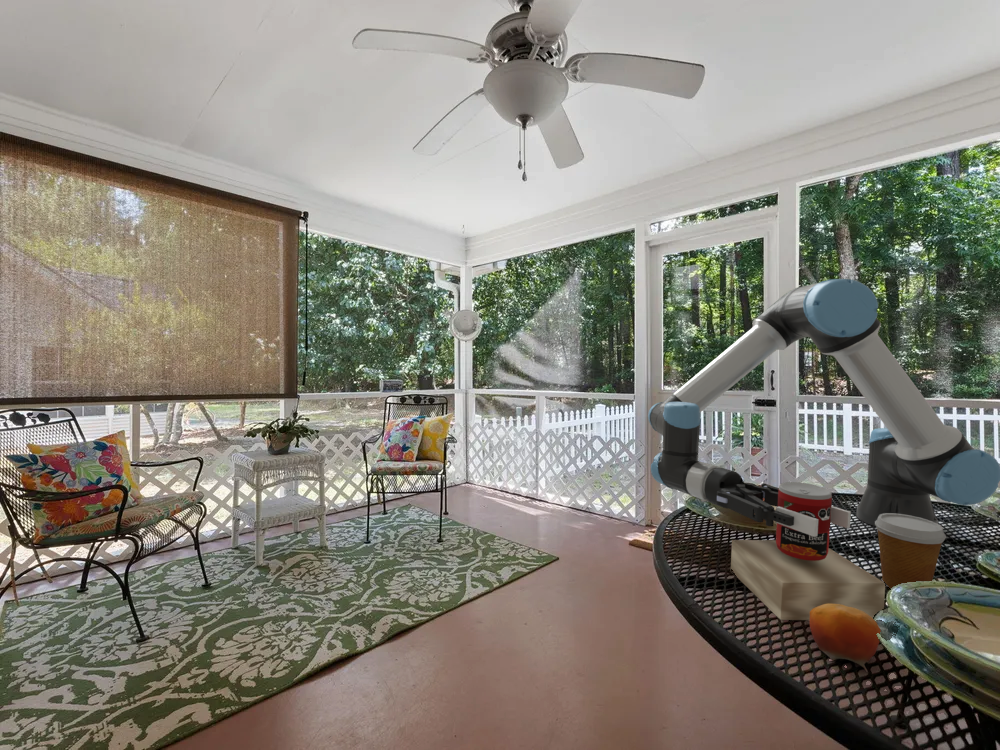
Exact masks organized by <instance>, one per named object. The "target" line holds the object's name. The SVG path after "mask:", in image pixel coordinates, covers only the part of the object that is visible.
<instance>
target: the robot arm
mask: <svg viewBox="0 0 1000 750" xmlns="http://www.w3.org/2000/svg"><path fill="white" fill-rule="evenodd" d="M878 308H879V301H878V300H877V297H876V294H874V292H873V291H872V290H871V289H870V288H869V286H867V285H866V284H864V283H862V282H860V281H858V280H855V279H849V278H833V279H832V278H831V279H825V280H823V281H820V282H816V283H811V284H808V285H801V286H798V287H795V288H793V289H791V290H789V291H787V292H786V293H785V294H783V295H782V296H781V297H780V298H778V299H777V300H776V301H775V302H774V303H772V304H771V305H770V306H769V307H768V308H767V309H765V310H764V312H763V313H760V315H759V316H758V317H756V318H754V320H753V321H752V327H751V328H750V329H748V330H747V332H745V333H744V334H743V335H741V336H740V337H739V338H738V339H737V340H736V341H734V342H733V343H732V344H730V345H729V346H728V347H727V348H726V349H725V350H724V351H723V352H721V353H720V354H719V355H717V357H715V358H714V359H713V360H712V361H711V362H709V363H708V364H707V365H706V366H704V367H703V368H702V369H701V370H699V372H697V373H696V374H695V375H694V376H693V377H692V378H691V379H689V380H688V381H687V382H685V383H684V384H683V385H682V386H681V387H680V388H678V389H677V390H676V391H675V392H674V393H673V394H671V395H670V396H668V397H667V398H666V399H665V400H664V401H660V402H656V403H655V404H653V405H652V406H651V407H650V409H649V410H648V412H647V413H648V414H647V419H648V422H649V424H650V426H651V428H652V429H653V430H654V431H655V432H657V433H658V434H660V435H661V436H662V451H660V452H658V453H657V454H656V455H655V456H654V457H653V462H652V463H651V464H650V472H651V477H652V478H653V479H654V480H655V481H656V482H657V483H658V484H661V485H663V486H665V487H666V488H668V489H671V490H674V491H678V492H681V493H683V494H686V495H689V496H691V497H695V498H697V499H699V500H700V501H701V502H703V503H705V502H708V503H710V504H712V505H715V506H718V507H721V508H724V509H729V510H731V511H733V512H735V513H738V514H740V515H741V516H744V517H745V518H748V519H751V520H752V521H754V522H757V523H763V522H764V520H765V526H766V527H774V522H775V524H777V523H778V524H781V525H783V526H786V527H789V528H792V529H794V530H797V531H800V532H802V533H805V534H808V535H811V536H813V537H816V536H817V535H818V519H816V518H813V517H810V516H807V515H804V514H801V513H798V512H795V511H792V510H788V509H785V508H782V507H778V491H779V487H777V486H773V485H770V484H767V483H766V482H765V483H761V485H756V484H755V483H751V482H745V481H744V480H743V477H742V476H741V475H740V473H738V472H737V471H734V470H731V469H728V468H724V467H720V466H718V465H715V464H710V463H706V462H704V461H703V462H702V461H700V460H699V449H700V448H699V445H700V428H701V420H702V419H701V412H702V411H704V410H706V409H707V408H708V407H709V406H711V404H712V403H713V402H715V401H716V400H717V399H719V398H720V397H721V396H722V395H724V394H725V393H726V392H727V391H729V390H730V389H731V388H732V387H733V386H735V385H736V384H737V383H739V381H741V380H743V378H744V377H745V376H746V375H748V374H749V373H750V372H752V371H753V370H754V369H756V368H757V367H758V366H759V365H760V364H761V363H762V362H764V361H765V360H766V359H768V358H769V357H770V356H771V355H772V354H774V353H775V352H776V351H783V350H784V351H785V349H787V348H788V347H789V346H790V345H791V344H793V343H795V342H797V341H800V340H801V339H803V338H810V340H811V341H812V342H813V344H814V345H815V346H816V348H817V349H818V350H819V352H820V353H821V354H823V355H827V356H832V357H834V359H836V361H837V362H838V364H839V365H840V366H841V368H842V370H843V371H844V372H845V373H846V375H847V376H848V377H849V378H850V380H851V381H852V383H853V384H854V385H855V387H856V388H857V389H858V391H859V392H860V394H861V395H862V396H863V398H864V399H865V400H866V402H867V403H868V404H869V406H870V407H871V408H872V410H873V411H874V412H875V414H876V416H878V418H879V419H880V421H881V422H882V423H883V425H884V426H885V427H878V428H875V429H873V430H872V431H871V432H870V437H869V441H868V445H869V447H868V465H867V466H868V467H867V469H868V470H867V483H866V487H865V488H866V489H865V491H864V492H863V495H862V497H861V499H860V501H859V503H858V505H857V507H856V518H857V519H859V520H860V521H861V522H864V523H865V524H868V525H870V526H874V527H876V525H875V521H876V520H877V519H878V516H879V515H880V514H885V513H895V514H904V515H910V516H915V517H919V518H923V519H926V520H929V521H932V522H935V523H937V524H939V520H938V518H937V516H936V513H935V509H934V505H933V503H932V500H931V496H934V497H936V498H938V499H940V500H942V501H943V502H948V503H953V504H956V505H961V506H973V505H976V504H980V503H982V502H985V501H986V500H988V499H989V498H990V497H991V496H993V494H994V493H995V492H996V490H998V488H999V483H1000V463H999V462H998V460H997V459H996V458H995V457H994V456H993V455H991V454H990V453H987V452H986V451H985V450H982V449H978V448H977V449H975V448H974V447H973V446H972V445H971V444H970V443H969V441H968V439H967V438H966V436H965V435H963V432H961V431H960V430H959V428H957V427H955V426H952V425H945V424H944V423H943V421H942V420H941V418H940V417H939V416H938V414H937V413H936V412H935V410H934V409H933V407H932V406H931V405H930V403H929V402H928V401H927V399H926V398H925V397H924V395H923V394H922V392H921V391H920V390H919V389H918V388H917V386H916V385H915V383H914V382H913V381H912V379H911V378H910V376H909V375H908V374H907V373H906V371H905V370H904V368H903V367H902V365H901V364H900V363H899V362H898V360H897V359H896V358H895V356H894V355H893V353H892V352H891V351H890V349H889V348H888V347H887V346H886V344H885V343H884V341H883V340H882V338H881V337H880V336H879V332H880V331H879V330H880V328H881V326H882V325H881V324H882V323H881V322H880V320H879V319H878V318H877V317H878V312H877V310H878ZM851 514H852V511H850V510H846V509H843V508H840V507H837V506H833V505H831V519H830V524H833V525H837V526H839V527H842V528H845V529H849V528H850V527H851Z"/></svg>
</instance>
